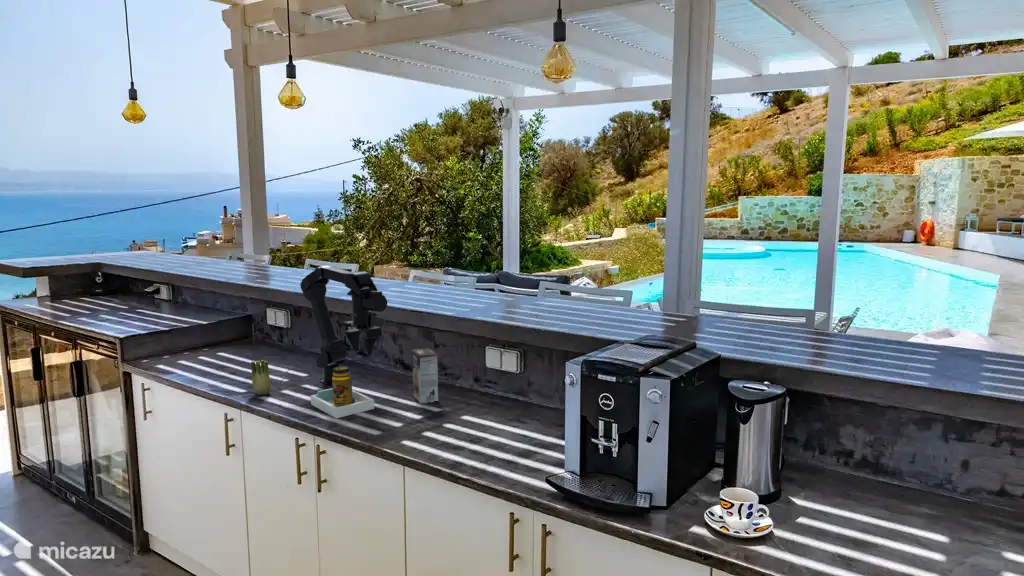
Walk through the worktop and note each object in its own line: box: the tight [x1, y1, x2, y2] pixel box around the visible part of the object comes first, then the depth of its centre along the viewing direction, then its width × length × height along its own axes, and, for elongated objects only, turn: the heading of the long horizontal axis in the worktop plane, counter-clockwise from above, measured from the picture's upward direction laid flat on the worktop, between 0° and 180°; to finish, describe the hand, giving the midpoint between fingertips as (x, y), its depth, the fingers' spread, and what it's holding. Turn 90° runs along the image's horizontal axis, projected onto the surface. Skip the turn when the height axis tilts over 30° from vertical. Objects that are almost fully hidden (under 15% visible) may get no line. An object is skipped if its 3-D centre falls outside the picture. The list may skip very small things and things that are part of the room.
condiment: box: [331, 365, 355, 407], centre depth 208 cm, size 7×8×12 cm
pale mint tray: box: [310, 389, 375, 419], centre depth 209 cm, size 19×13×3 cm
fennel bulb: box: [250, 359, 272, 396], centre depth 222 cm, size 6×5×12 cm
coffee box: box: [411, 347, 439, 405], centre depth 214 cm, size 9×6×16 cm
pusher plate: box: [316, 387, 333, 401], centre depth 213 cm, size 1×10×4 cm, turn 131°
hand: (363, 353), depth 224 cm, fingers open, 9 cm apart
